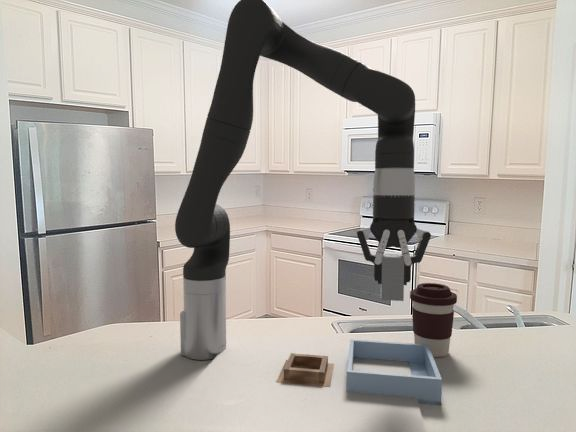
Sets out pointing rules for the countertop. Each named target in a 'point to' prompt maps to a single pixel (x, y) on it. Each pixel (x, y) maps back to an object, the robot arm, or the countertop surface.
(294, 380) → the socket block
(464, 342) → the countertop surface
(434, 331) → the coffee cup
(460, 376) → the countertop surface
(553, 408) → the countertop surface
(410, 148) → the robot arm
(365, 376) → the bin
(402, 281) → the grey rectangular peg
